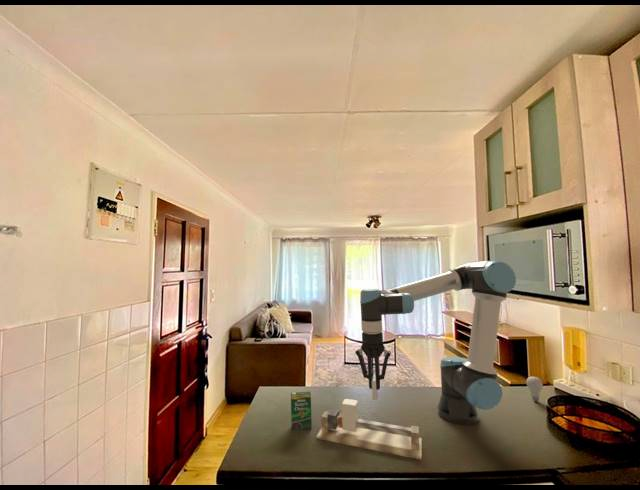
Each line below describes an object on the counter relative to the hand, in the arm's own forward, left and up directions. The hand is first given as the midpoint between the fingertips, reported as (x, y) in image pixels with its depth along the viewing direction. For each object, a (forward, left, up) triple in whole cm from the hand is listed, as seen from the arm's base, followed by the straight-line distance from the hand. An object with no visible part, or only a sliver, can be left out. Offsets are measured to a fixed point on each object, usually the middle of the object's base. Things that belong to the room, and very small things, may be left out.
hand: (375, 398), depth 105 cm
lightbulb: (-64, -54, -15) cm, 85 cm away
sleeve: (+9, 0, -12) cm, 15 cm away
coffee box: (+29, +1, -15) cm, 32 cm away
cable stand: (+3, 0, -15) cm, 15 cm away
